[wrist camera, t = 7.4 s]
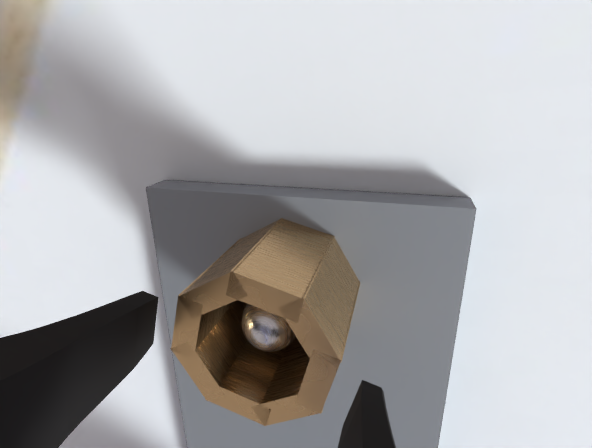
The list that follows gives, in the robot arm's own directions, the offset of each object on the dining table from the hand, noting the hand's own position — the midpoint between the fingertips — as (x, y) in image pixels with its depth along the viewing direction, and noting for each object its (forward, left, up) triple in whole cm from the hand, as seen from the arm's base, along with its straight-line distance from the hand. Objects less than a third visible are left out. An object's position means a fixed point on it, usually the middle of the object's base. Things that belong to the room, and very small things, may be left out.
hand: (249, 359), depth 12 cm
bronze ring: (0, 0, -5) cm, 5 cm away
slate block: (-3, -5, -7) cm, 9 cm away
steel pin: (0, 0, -5) cm, 5 cm away
